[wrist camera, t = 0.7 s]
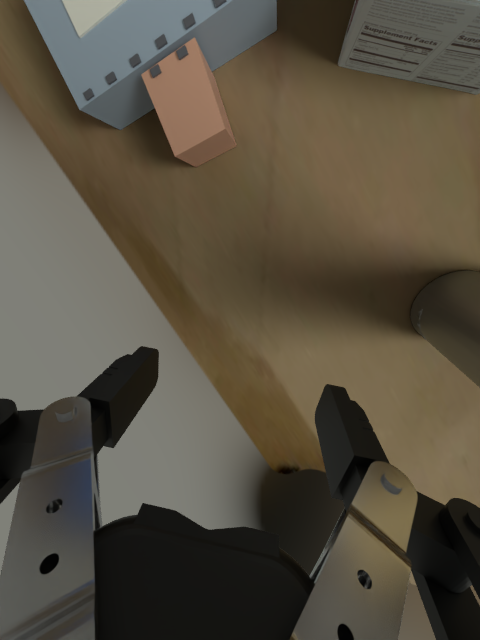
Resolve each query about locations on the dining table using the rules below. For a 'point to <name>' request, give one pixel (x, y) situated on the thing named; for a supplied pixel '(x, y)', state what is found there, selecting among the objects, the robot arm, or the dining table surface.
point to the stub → (189, 105)
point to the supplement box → (416, 41)
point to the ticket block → (140, 44)
